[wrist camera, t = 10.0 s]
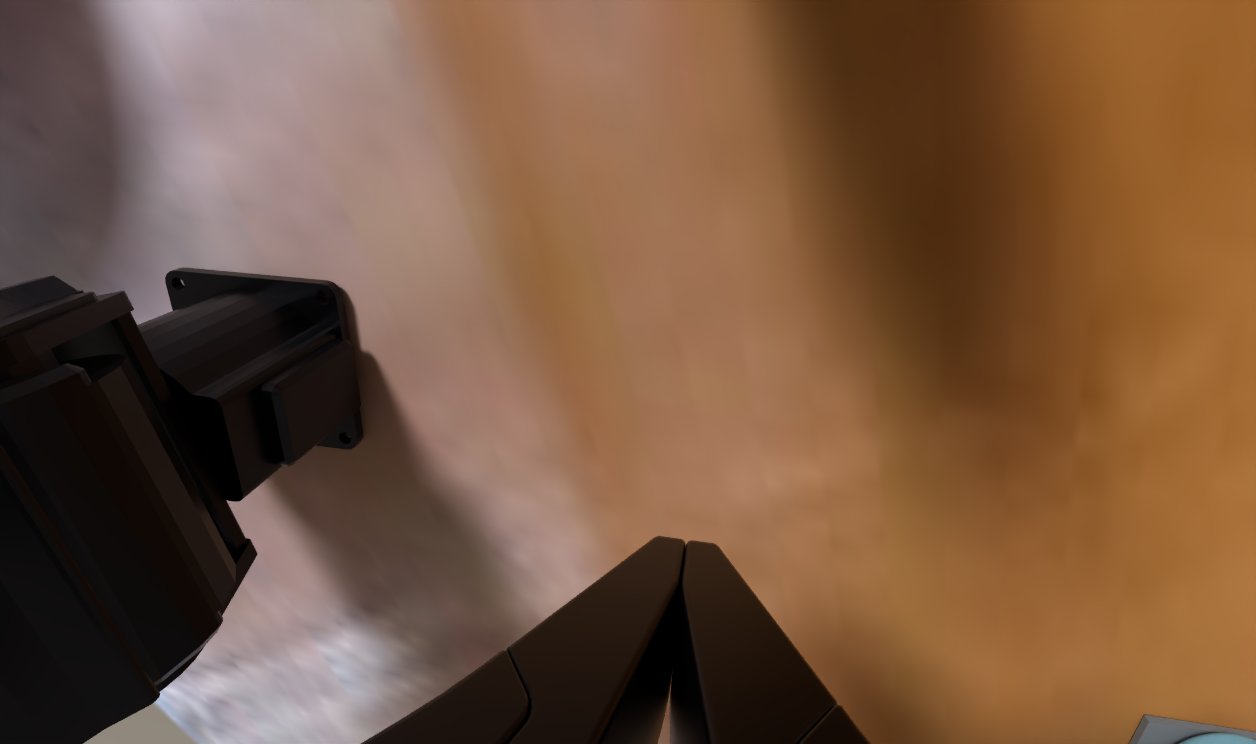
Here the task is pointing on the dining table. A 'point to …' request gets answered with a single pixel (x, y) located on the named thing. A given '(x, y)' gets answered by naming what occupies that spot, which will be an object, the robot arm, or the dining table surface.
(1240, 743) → the data package
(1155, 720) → the felt pad
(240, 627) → the dining table surface
